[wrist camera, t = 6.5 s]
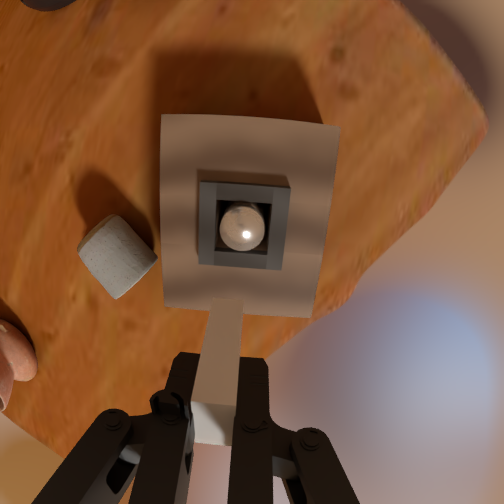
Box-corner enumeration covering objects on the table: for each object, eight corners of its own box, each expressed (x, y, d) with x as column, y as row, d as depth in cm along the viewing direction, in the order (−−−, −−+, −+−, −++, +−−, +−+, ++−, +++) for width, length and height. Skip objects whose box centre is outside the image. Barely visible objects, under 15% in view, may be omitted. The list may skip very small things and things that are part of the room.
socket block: (181, 114, 34) (158, 114, 25) (323, 124, 34) (343, 127, 26) (179, 273, 42) (162, 311, 33) (302, 282, 42) (312, 323, 34)
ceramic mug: (122, 202, 38) (94, 222, 31) (165, 249, 40) (146, 278, 33) (79, 250, 41) (51, 276, 34) (118, 291, 43) (96, 322, 36)
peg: (229, 186, 36) (220, 207, 28) (264, 189, 36) (266, 210, 28) (227, 220, 37) (218, 249, 30) (261, 222, 38) (262, 252, 30)
